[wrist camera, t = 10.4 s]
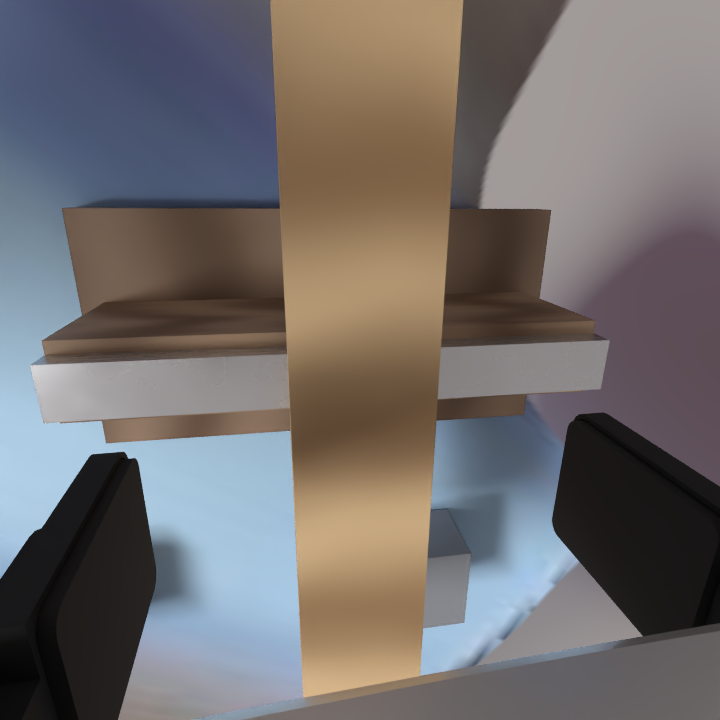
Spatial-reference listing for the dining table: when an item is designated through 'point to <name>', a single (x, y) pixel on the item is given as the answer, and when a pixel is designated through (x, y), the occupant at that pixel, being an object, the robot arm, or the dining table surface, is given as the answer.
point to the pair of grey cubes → (445, 572)
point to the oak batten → (363, 315)
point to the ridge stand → (282, 323)
